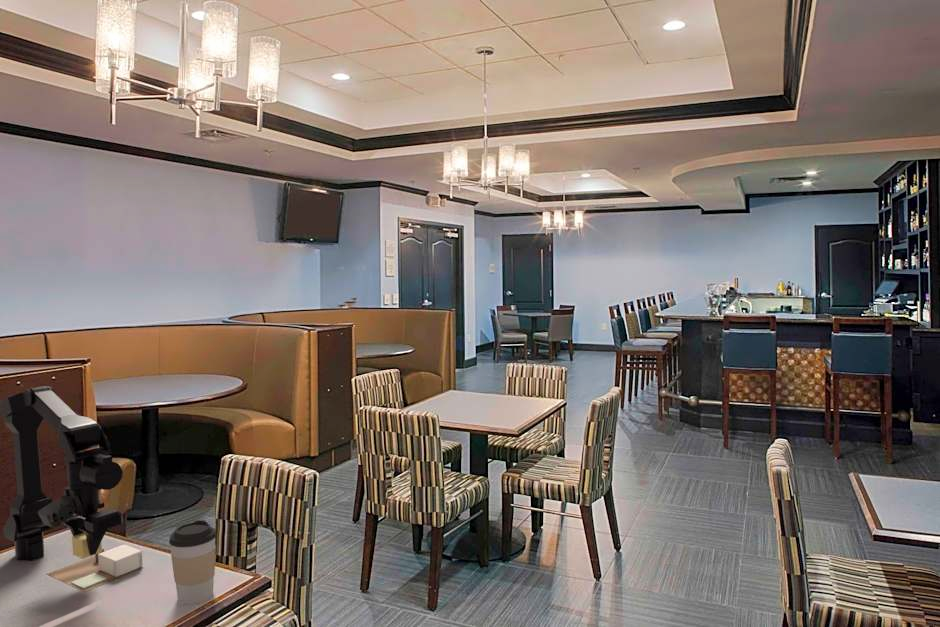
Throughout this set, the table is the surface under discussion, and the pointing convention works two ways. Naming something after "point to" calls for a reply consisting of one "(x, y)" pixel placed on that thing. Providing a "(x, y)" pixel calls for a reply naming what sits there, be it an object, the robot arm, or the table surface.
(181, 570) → the coffee cup
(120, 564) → the cover
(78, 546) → the block
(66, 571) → the board
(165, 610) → the table surface
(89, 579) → the thin mint green panel
